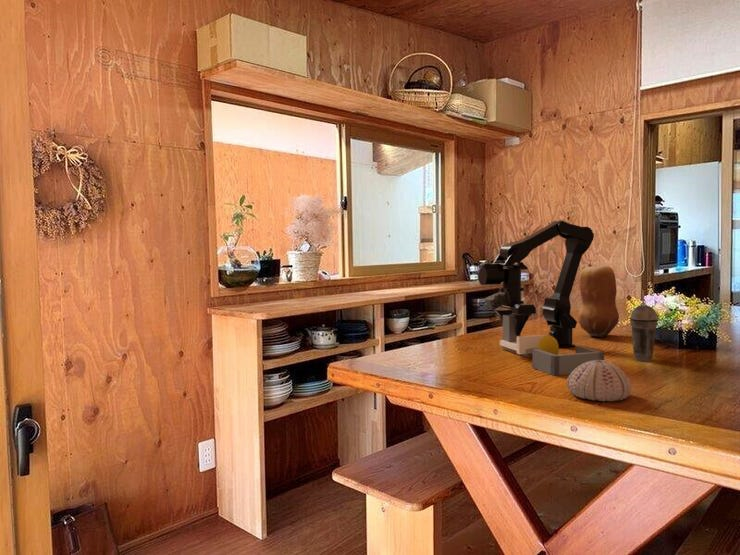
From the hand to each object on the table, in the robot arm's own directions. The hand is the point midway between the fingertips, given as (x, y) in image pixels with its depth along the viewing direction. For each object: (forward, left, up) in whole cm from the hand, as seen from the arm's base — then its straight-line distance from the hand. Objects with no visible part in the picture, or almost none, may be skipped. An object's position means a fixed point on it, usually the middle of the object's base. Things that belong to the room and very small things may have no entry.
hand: (511, 333), depth 180 cm
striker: (0, +5, -4) cm, 7 cm away
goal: (0, +29, -5) cm, 29 cm away
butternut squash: (-40, -10, -5) cm, 42 cm away
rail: (0, +5, -5) cm, 7 cm away
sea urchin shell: (+9, +53, -5) cm, 54 cm away
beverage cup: (-27, +26, -5) cm, 38 cm away
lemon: (0, +20, -5) cm, 21 cm away
